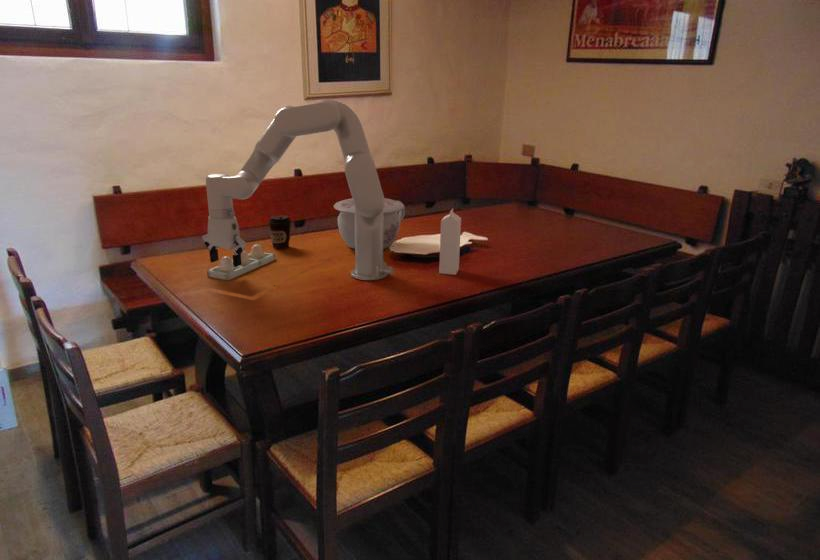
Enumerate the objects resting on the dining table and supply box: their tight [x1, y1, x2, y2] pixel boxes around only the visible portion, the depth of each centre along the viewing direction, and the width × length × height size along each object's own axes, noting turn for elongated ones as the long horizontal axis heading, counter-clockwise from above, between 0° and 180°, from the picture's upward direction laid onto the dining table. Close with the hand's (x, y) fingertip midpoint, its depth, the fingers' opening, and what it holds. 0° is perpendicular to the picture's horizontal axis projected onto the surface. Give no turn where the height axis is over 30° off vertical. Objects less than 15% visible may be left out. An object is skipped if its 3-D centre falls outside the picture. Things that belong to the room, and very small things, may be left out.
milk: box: [438, 208, 462, 276], centre depth 202 cm, size 6×6×22 cm
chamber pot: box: [333, 197, 406, 250], centre depth 230 cm, size 28×28×21 cm
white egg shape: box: [218, 255, 234, 273], centre depth 195 cm, size 5×5×6 cm
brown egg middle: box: [239, 249, 250, 266], centre depth 202 cm, size 5×5×6 cm
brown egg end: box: [249, 243, 265, 260], centre depth 209 cm, size 5×5×6 cm
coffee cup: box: [268, 214, 292, 251], centre depth 225 cm, size 9×8×13 cm
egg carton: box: [206, 251, 276, 281], centre depth 205 cm, size 25×17×3 cm
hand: (226, 263), depth 195 cm, fingers open, 9 cm apart
